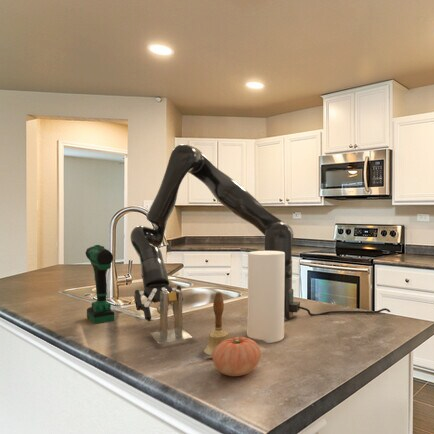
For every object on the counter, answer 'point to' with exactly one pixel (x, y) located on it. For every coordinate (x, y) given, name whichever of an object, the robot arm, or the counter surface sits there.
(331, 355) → the counter surface
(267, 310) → the tall pillar cylinder
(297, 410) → the counter surface
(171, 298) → the lever
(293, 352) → the counter surface
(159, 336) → the bracket
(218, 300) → the hand bell
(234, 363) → the pumpkin
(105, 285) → the power drill
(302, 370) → the counter surface
